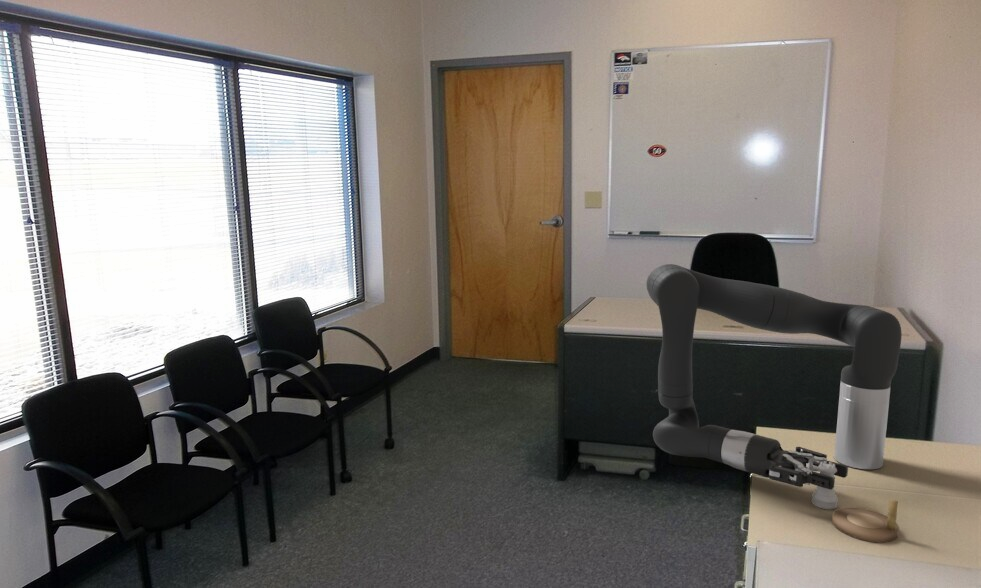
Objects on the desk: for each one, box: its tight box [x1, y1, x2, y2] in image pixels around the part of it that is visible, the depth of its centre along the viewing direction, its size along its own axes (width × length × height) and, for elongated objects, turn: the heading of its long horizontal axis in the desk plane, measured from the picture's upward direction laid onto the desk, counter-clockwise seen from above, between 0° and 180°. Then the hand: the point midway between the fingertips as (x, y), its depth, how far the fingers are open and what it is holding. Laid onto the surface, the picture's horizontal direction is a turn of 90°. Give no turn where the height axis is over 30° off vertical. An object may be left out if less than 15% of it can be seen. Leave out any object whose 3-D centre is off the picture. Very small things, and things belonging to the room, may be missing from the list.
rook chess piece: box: [811, 460, 839, 511], centre depth 127 cm, size 4×4×8 cm
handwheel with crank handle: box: [831, 499, 900, 543], centre depth 119 cm, size 10×10×6 cm
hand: (840, 477), depth 125 cm, fingers open, 6 cm apart
